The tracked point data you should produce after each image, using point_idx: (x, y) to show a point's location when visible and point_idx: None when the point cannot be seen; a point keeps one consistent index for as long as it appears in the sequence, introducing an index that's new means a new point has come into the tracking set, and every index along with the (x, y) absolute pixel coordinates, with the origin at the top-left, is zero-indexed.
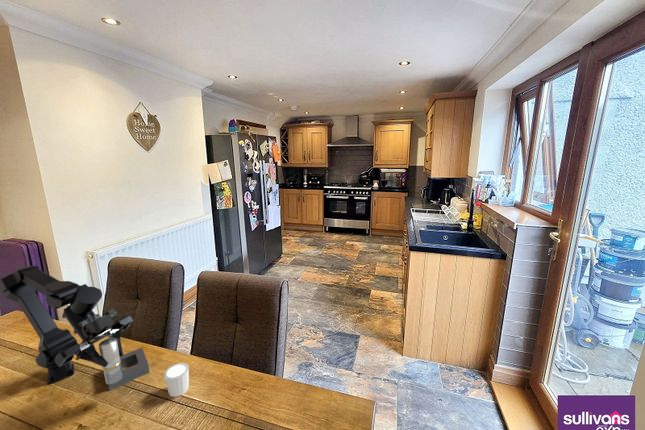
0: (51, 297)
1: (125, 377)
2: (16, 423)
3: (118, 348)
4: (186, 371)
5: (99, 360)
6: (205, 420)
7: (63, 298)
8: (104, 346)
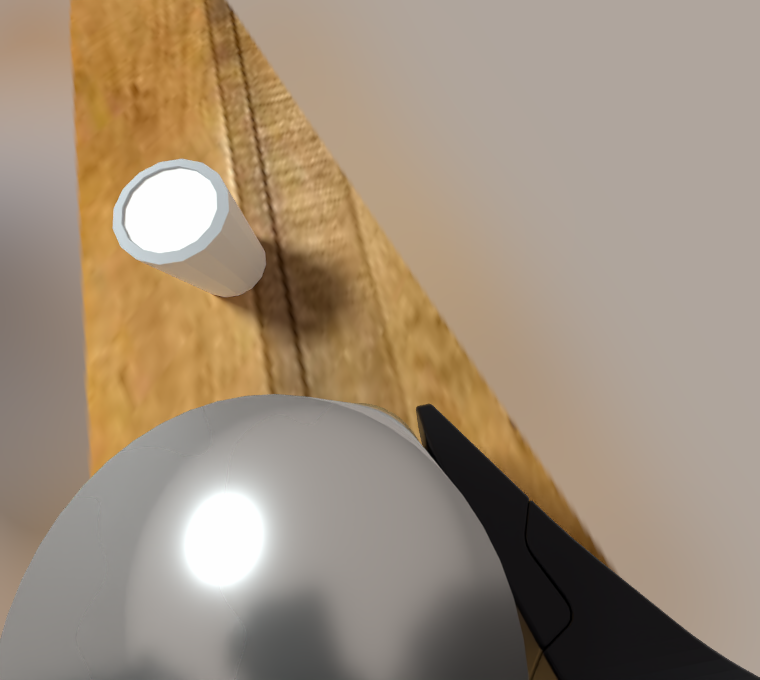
0: None
1: None
2: None
3: None
4: (153, 166)
5: (486, 460)
6: (274, 93)
7: None
8: (423, 485)
